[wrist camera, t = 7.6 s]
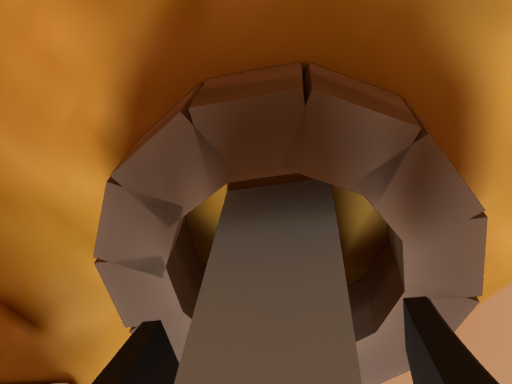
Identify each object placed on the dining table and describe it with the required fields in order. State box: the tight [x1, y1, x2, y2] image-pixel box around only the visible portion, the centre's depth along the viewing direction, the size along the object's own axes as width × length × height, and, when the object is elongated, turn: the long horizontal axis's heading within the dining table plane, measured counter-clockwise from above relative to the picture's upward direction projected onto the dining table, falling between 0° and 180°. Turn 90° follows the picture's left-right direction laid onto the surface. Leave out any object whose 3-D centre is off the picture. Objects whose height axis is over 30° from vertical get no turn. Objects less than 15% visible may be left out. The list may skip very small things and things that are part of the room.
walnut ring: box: [93, 62, 487, 384], centre depth 16 cm, size 13×13×3 cm
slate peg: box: [174, 179, 362, 384], centre depth 13 cm, size 4×4×10 cm
